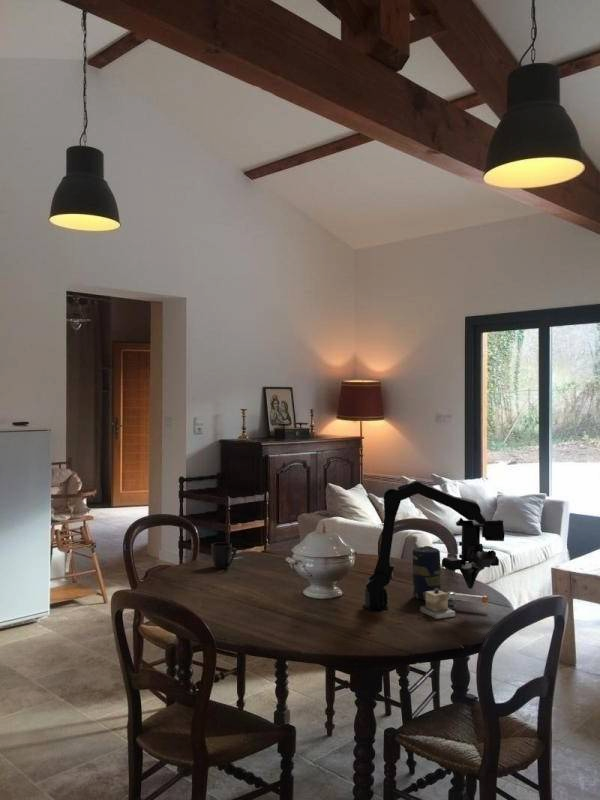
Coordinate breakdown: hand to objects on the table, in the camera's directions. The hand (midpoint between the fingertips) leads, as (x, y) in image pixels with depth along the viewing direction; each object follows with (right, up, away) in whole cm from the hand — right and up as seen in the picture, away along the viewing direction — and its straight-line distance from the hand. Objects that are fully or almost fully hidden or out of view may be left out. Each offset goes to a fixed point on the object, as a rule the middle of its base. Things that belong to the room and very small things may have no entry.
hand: (470, 588), depth 226 cm
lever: (0, -5, +4) cm, 6 cm away
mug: (-85, -8, +59) cm, 104 cm away
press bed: (-11, -8, -1) cm, 13 cm away
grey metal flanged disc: (-5, -8, +6) cm, 11 cm away
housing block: (-11, -6, -1) cm, 13 cm away
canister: (-11, -8, +17) cm, 22 cm away
